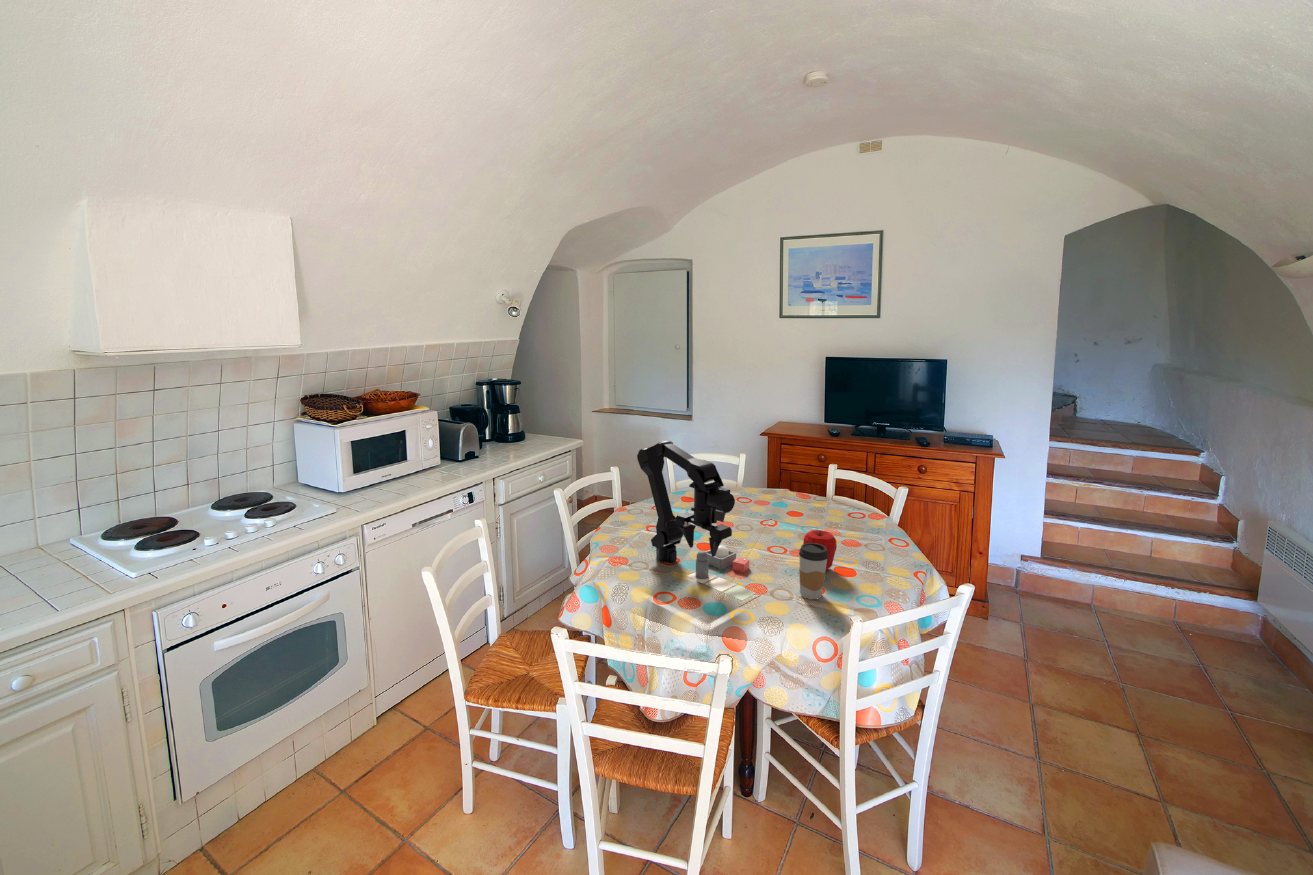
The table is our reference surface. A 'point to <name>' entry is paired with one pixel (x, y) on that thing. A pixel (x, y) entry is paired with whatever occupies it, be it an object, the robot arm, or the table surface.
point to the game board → (725, 587)
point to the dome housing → (721, 559)
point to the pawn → (702, 565)
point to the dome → (722, 552)
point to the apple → (823, 543)
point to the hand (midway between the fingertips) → (702, 551)
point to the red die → (740, 564)
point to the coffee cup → (812, 569)
